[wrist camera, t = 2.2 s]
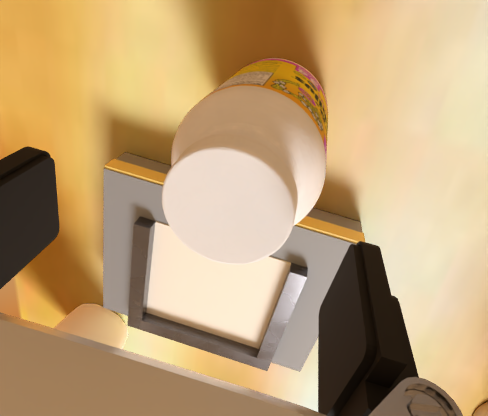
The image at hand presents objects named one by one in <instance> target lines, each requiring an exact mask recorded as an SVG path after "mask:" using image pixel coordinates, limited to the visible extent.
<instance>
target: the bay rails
mask: <svg viewBox="0 0 488 416" xmlns="http://www.w3.org/2000/svg"><path fill="white" fill-rule="evenodd" d="M155 222H156V221H154V220H150V219H147V218H144V217H141V216H140V217H139V218H138V219H137V221H136V222H135V223H134V228H133V244H132V261H131V278H130V294H129V311H128V326H131V327H134V328H137V329H140V330H143V331H146V332H149V333H152V334H156V335H159V336H162V337H165V338H168V339H171V340H174V341H177V342H180V343H183V344H186V345H189V346H192V347H195V348H198V349H201V350H204V351H207V352H211V353H214V354H217V355H220V356H223V357H226V358H229V359H232V360H235V361H238V362H241V363H244V364H247V365H250V366H253V367H256V368H259V369H262V370H266V371H267V370H268V368H269V365H270V363H271V361H272V358H273V356H274V354H275V351H276V349H277V347H278V344H279V342H280V340H281V337H282V335H283V333H284V330H285V328H286V326H287V323H288V321H289V319H290V316H291V314H292V312H293V309H294V307H295V305H296V302H297V300H298V298H299V295H300V293H301V291H302V288H303V286H304V284H305V281H306V279H307V273H308V268H307V267H303V266H300V265H297V264H294V263H291V265H290V268H289V270H288V273H287V276H286V278H285V281H284V284H283V286H282V289H281V291H280V294H279V297H278V299H277V302H276V304H275V307H274V310H273V312H272V315H271V317H270V320H269V323H268V325H267V328H266V331H265V333H264V336H263V338H262V341H261V344H260V346H259V349H258V348H254V347H251V346H248V345H245V344H242V343H239V342H236V341H233V340H230V339H227V338H224V337H220V336H217V335H214V334H211V333H208V332H205V331H202V330H199V329H196V328H193V327H190V326H187V325H183V324H180V323H177V322H174V321H171V320H168V319H165V318H162V317H159V316H156V315H153V314H149V313H146V311H147V301H148V291H149V281H150V271H151V261H152V251H153V241H154V231H155Z"/></svg>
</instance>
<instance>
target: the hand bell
mask: <svg viewBox="0 0 488 416" xmlns="http://www.w3.org/2000/svg"><path fill="white" fill-rule="evenodd" d="M473 416H488V402H486V403H484V404H483V405H481V406H480V407H479V408H478V409H477V410H476V411H475V412H474V414H473Z"/></svg>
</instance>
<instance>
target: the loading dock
mask: <svg viewBox="0 0 488 416" xmlns="http://www.w3.org/2000/svg"><path fill="white" fill-rule="evenodd" d="M171 167H172V166H170V165H166V164H163V163H160V162H156V161H153V160H150V159H146V158H143V157H139V156H136V155H133V154H129V153H126V152H125V153H124V154H122V155H121V156H120V157H118V158H117V159H112V160H111V161H110V162H108V163H107V164H106V165H105V168H104V247H103V308H106V309H109V310H112V311H115V312H118V313H121V314H124V315H127V316H128V311H129V294H130V278H131V261H132V244H133V228H134V223H135V222H136V221H137V219H138V218H139V217H140V216H141V217H144V218H147V219H150V220H154V221H156V222H155V231H154V241H153V251H152V261H151V271H150V281H149V291H148V301H147V311H146V313H149V314H153V315H156V316H159V317H162V318H165V319H168V320H171V321H174V322H177V323H180V324H183V325H187V326H190V327H193V328H196V329H199V330H202V331H205V332H208V333H211V334H214V335H217V336H220V337H224V338H227V339H230V340H233V341H236V342H239V343H242V344H245V345H248V346H251V347H254V348H258V349H259V346H260V344H261V341H262V338H263V336H264V333H265V331H266V328H267V325H268V323H269V320H270V317H271V315H272V312H273V310H274V307H275V304H276V302H277V299H278V297H279V294H280V291H281V289H282V286H283V284H284V281H285V278H286V276H287V273H288V270H289V268H290V265H291V263H294V264H297V265H300V266H303V267H307V268H308V273H307V279H306V281H305V284H304V286H303V288H302V291H301V293H300V295H299V298H298V300H297V302H296V305H295V307H294V309H293V312H292V314H291V316H290V319H289V321H288V323H287V326H286V328H285V330H284V333H283V335H282V337H281V340H280V342H279V344H278V347H277V349H276V351H275V354H274V356H273V358H272V361H271V362H272V363H275V364H278V365H281V366H284V367H287V368H290V369H293V370H296V371H301V369H302V367H303V365H304V363H305V361H306V359H307V357H308V355H309V353H310V351H311V349H312V348H313V346H314V344H315V342H316V340H317V338H318V336H319V310H320V307H321V304H322V302H323V300H324V298H325V296H326V294H327V292H328V289H329V287H330V285H331V283H332V281H333V279H334V277H335V275H336V273H337V271H338V269H339V267H340V264H341V262H342V260H343V258H344V256H345V254H346V252H347V250H348V248H349V246H350V245H351V244H355V245H356V244H357V243H358V242H359V241H362V242H365V238H364V233H362V227H361V222H359V221H355V220H352V219H349V218H345V217H342V216H339V215H335V214H332V213H328V212H325V211H322V210H318V209H315V208H312V209H311V211H310V212H309V213H308V214H307V215H306V216H305V217H304V218H303V219H302V220H301V221H300V222H298V223H297V224H296V225H294V226H293V228H292V231H291V233H290V235H289V237H288V238H287V240H286V241H285V243H284V244H283V245H282V246H281V247H280V249H278V250H277V251H276V252H275V253H273V254H272V255H270V256H269V257H267V258H264V259H262V260H260V261H257V262H254V263H249V264H241V265H233V264H224V263H219V262H215V261H211V260H209V259H207V258H205V257H203V256H200V255H199V254H197V253H195V252H194V251H192V250H191V249H189V248H188V247H187V246H186V245H184V244H183V243H182V242H181V241H180V240H179V238H178V237H177V236H176V235H175V233H174V232H173V231H172V229H171V228H170V226H169V224H168V222H167V220H166V217H165V214H164V211H163V207H162V188H163V184H164V180H165V177H166V175H167V173H168V171H169V170H170V168H171Z"/></svg>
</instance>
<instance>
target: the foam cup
mask: <svg viewBox="0 0 488 416" xmlns="http://www.w3.org/2000/svg"><path fill="white" fill-rule="evenodd" d="M53 329H57V330H60V331H63V332H67V333H70V334H73V335H77V336H80V337H83V338H86V339H90V340H93V341H96V342H100V343H103V344H106V345H109V346H113V347H116V348H119V349H122V350H123V347H124V345H125V343H126V339H127V337H128V335H129V334H128V330H127V325H126V324H125V323H124V322H123V320H122V319H121V318H120V316H118V315H117V314H116V313H114V312H113V311H111V310H109V309H106V308H103V306H100V305H97V304H82V305H80V306H78V307H77V308H75V309H74V310H73V311H72V312H71V313H69V314H68V315H67V316H66V317H65V318H64V319H63V320H62V321H61V322H60V323H59V324H58V325H57V326H56V327H54V328H53Z"/></svg>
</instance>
